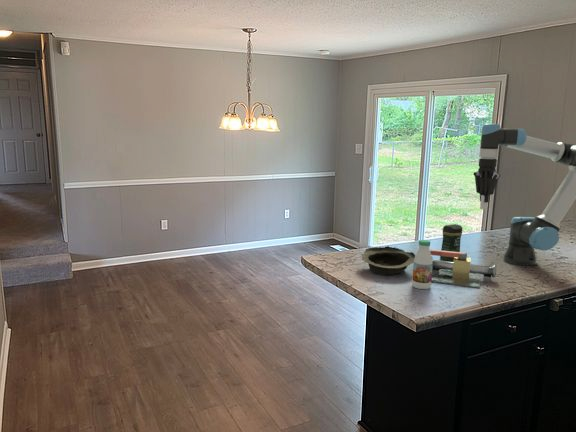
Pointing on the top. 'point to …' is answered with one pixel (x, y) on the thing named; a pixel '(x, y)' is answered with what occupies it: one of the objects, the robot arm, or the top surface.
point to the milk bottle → (422, 266)
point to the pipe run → (461, 273)
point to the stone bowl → (387, 259)
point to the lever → (449, 254)
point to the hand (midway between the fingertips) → (483, 208)
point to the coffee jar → (451, 240)
